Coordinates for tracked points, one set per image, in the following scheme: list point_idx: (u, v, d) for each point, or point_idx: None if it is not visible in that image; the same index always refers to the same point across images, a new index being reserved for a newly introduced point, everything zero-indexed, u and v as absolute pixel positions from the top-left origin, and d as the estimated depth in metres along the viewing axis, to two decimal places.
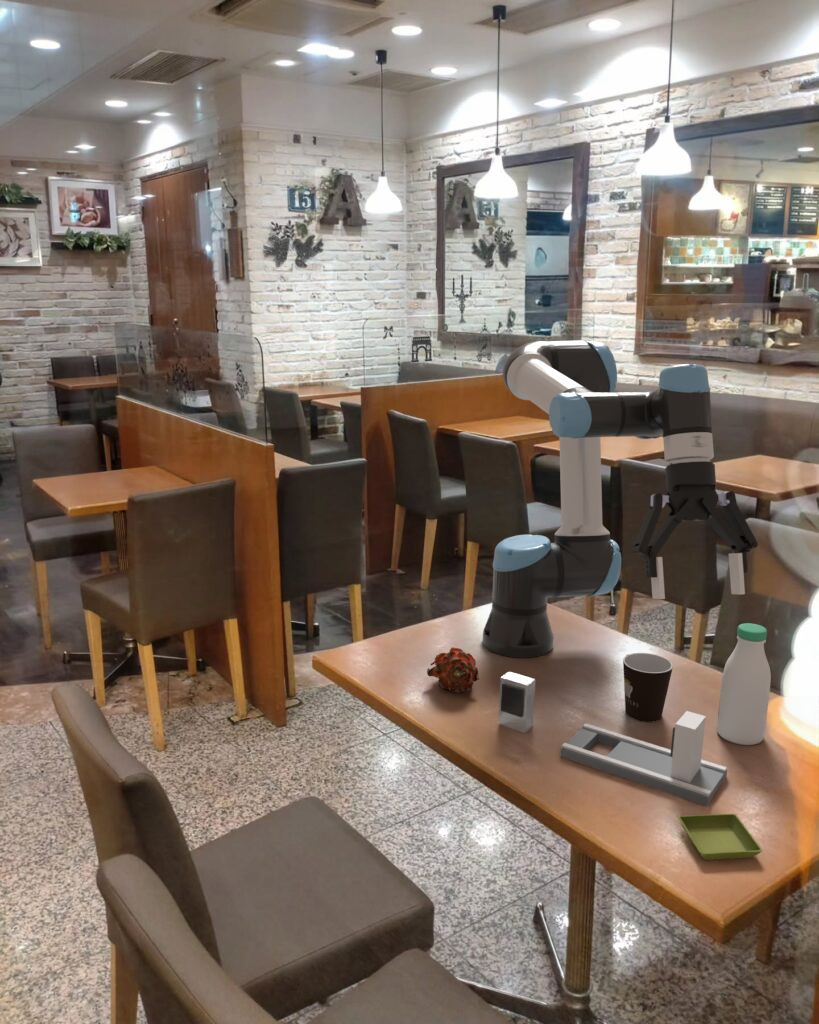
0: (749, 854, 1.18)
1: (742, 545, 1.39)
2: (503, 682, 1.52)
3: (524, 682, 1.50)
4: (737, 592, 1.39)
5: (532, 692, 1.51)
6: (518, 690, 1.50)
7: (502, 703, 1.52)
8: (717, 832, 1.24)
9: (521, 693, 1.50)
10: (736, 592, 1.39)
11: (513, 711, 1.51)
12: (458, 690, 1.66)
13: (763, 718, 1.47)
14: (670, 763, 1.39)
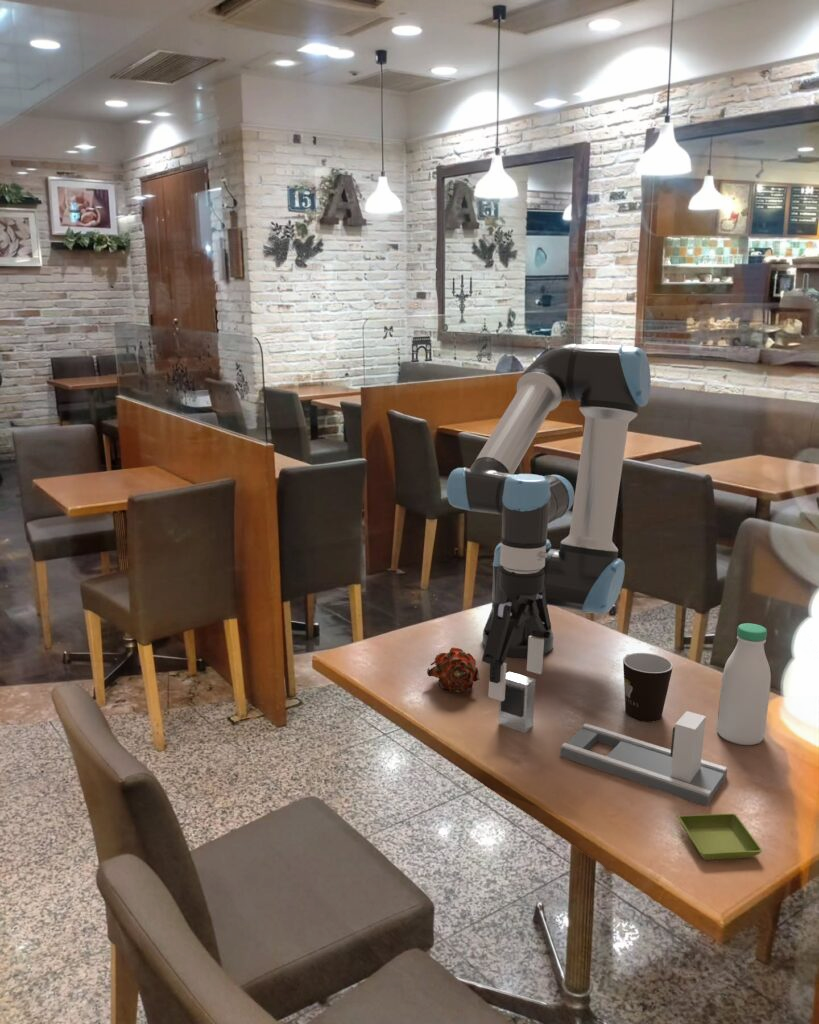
0: (749, 854, 1.18)
1: (544, 631, 1.55)
2: None
3: (524, 682, 1.50)
4: (535, 671, 1.56)
5: (532, 692, 1.51)
6: (518, 690, 1.50)
7: (502, 703, 1.52)
8: (716, 832, 1.24)
9: (521, 693, 1.50)
10: (534, 671, 1.56)
11: (513, 711, 1.51)
12: (458, 690, 1.66)
13: (763, 718, 1.47)
14: (670, 763, 1.39)
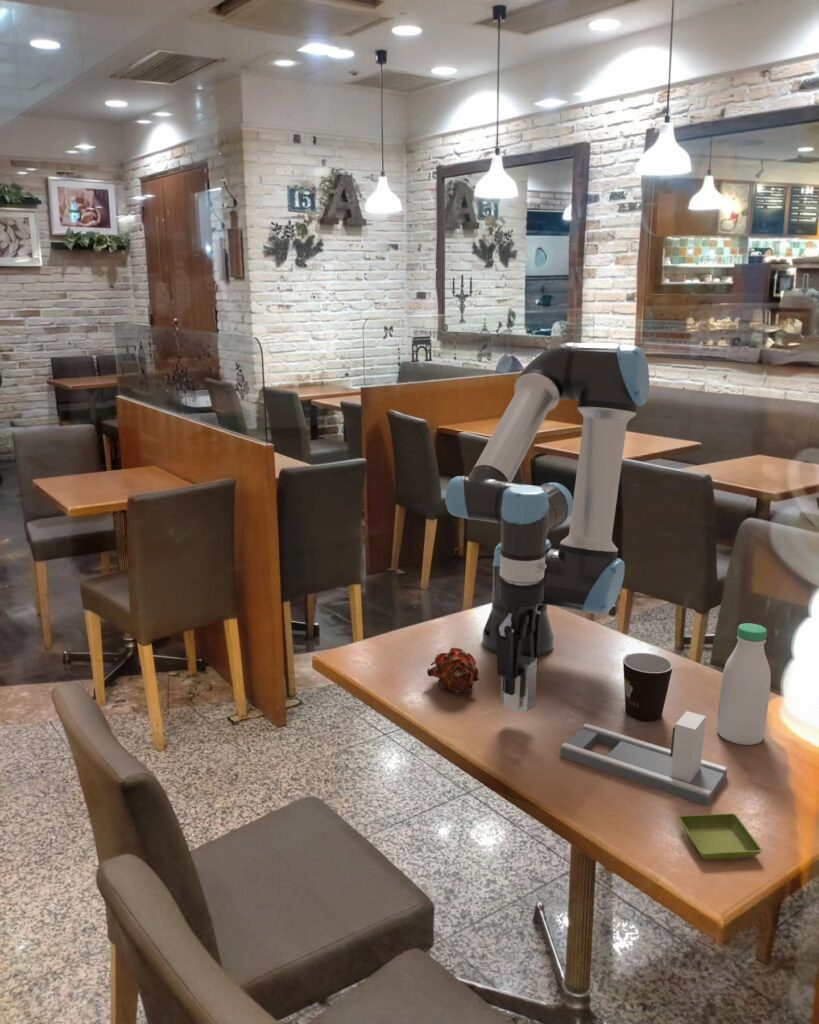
0: (749, 854, 1.18)
1: None
2: None
3: (525, 662, 1.50)
4: None
5: (534, 672, 1.51)
6: (520, 670, 1.49)
7: None
8: (716, 832, 1.24)
9: (523, 673, 1.49)
10: None
11: None
12: (458, 690, 1.66)
13: (763, 718, 1.47)
14: (670, 763, 1.39)
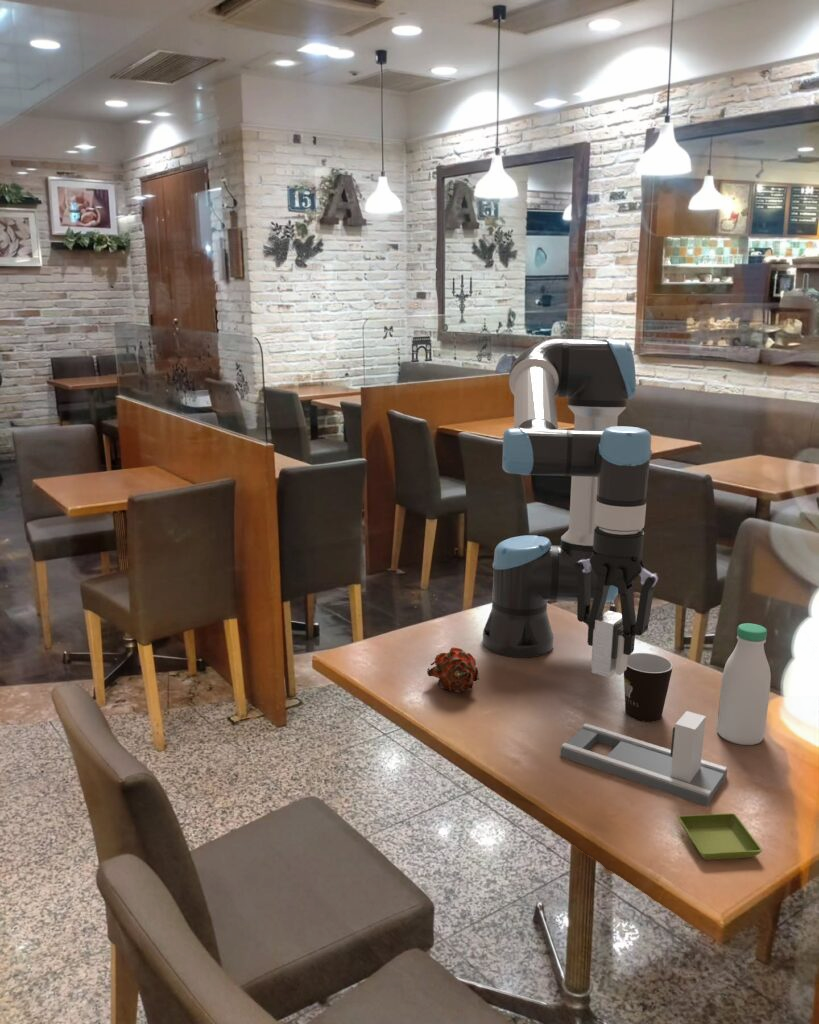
0: (749, 854, 1.18)
1: None
2: (614, 627, 1.37)
3: (619, 615, 1.40)
4: None
5: None
6: None
7: (616, 650, 1.38)
8: (716, 832, 1.24)
9: None
10: None
11: None
12: (458, 690, 1.66)
13: (763, 718, 1.47)
14: (670, 763, 1.39)
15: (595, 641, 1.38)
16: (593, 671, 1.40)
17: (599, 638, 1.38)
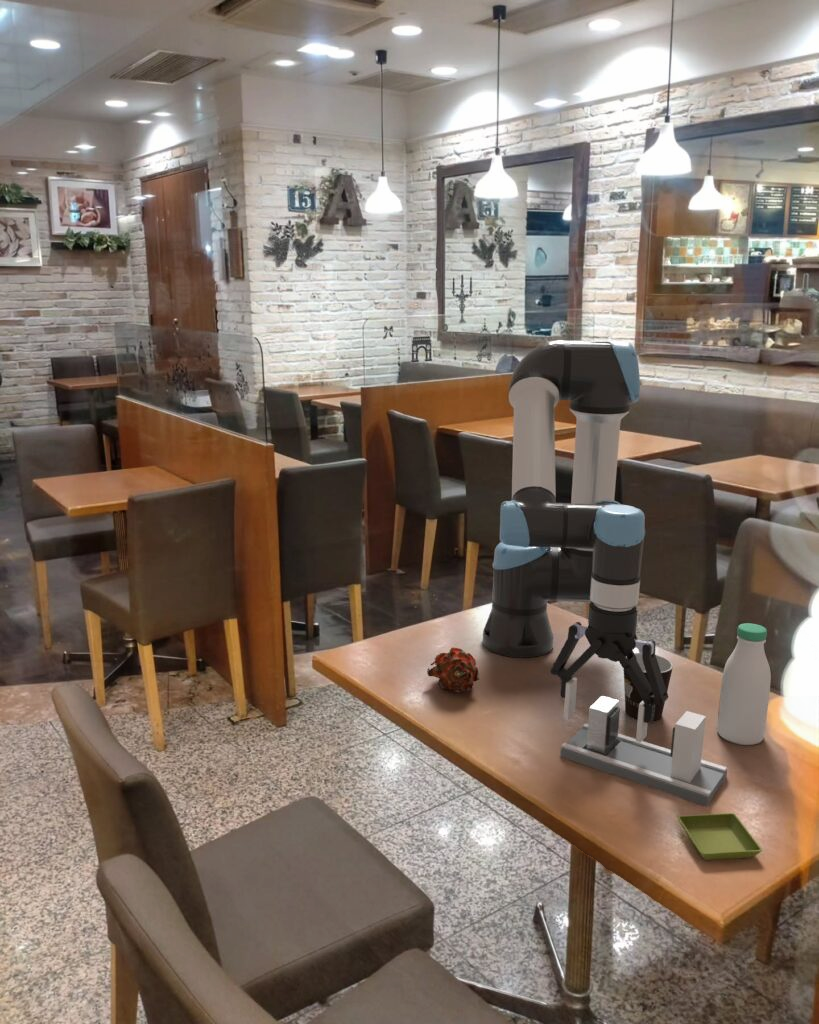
0: (749, 854, 1.18)
1: None
2: (608, 715, 1.41)
3: (612, 701, 1.44)
4: (572, 714, 1.47)
5: None
6: (618, 710, 1.43)
7: (610, 736, 1.42)
8: (716, 832, 1.24)
9: (619, 711, 1.44)
10: (572, 714, 1.47)
11: (614, 736, 1.44)
12: (458, 690, 1.66)
13: (763, 718, 1.47)
14: (670, 763, 1.39)
15: (589, 728, 1.42)
16: None
17: (593, 725, 1.42)
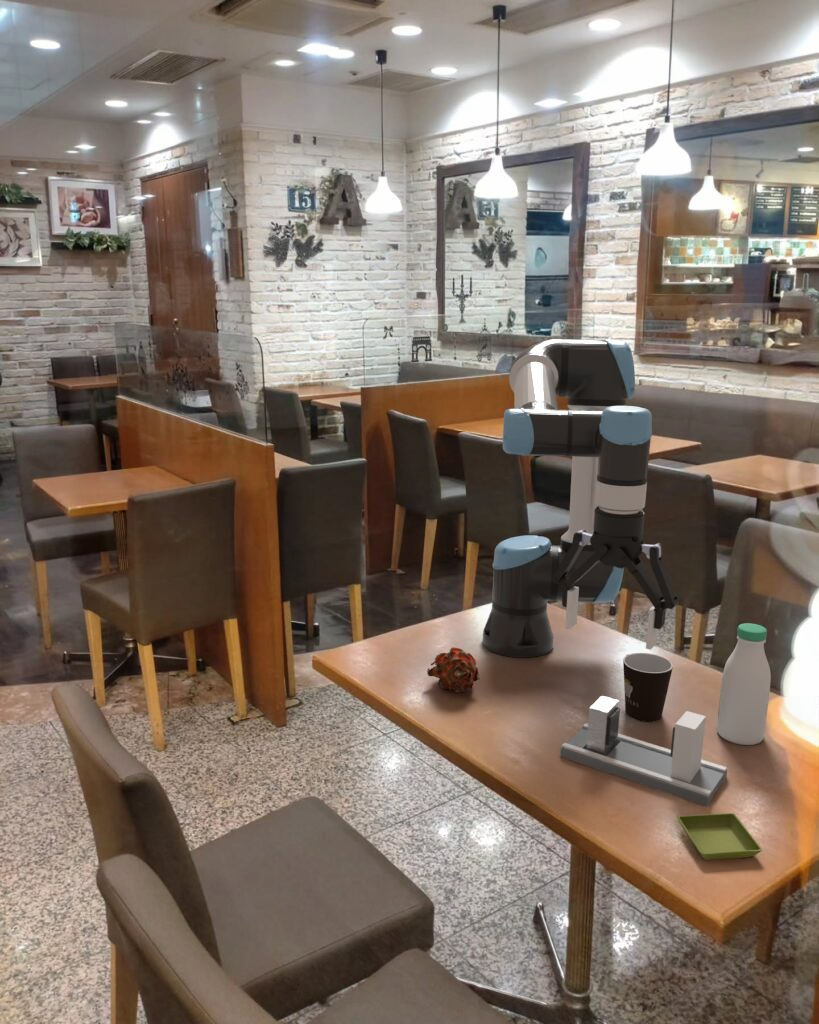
0: (749, 853, 1.18)
1: None
2: (608, 715, 1.41)
3: (612, 701, 1.44)
4: (574, 624, 1.44)
5: None
6: (618, 710, 1.43)
7: (610, 736, 1.42)
8: (716, 832, 1.24)
9: (619, 711, 1.44)
10: (573, 624, 1.44)
11: (614, 736, 1.44)
12: (458, 690, 1.66)
13: (763, 718, 1.47)
14: (670, 763, 1.39)
15: (589, 728, 1.42)
16: None
17: (593, 725, 1.42)
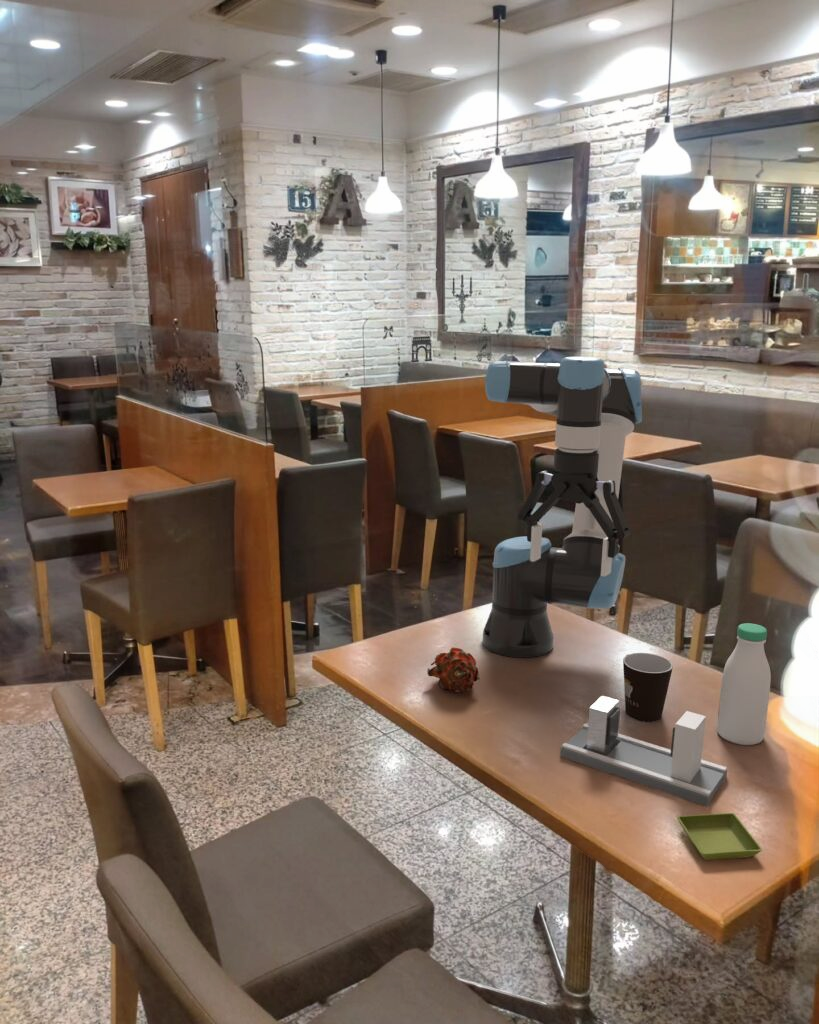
0: (749, 853, 1.18)
1: None
2: (608, 715, 1.41)
3: (612, 701, 1.44)
4: (538, 557, 1.59)
5: None
6: (618, 710, 1.43)
7: (610, 736, 1.42)
8: (716, 832, 1.24)
9: (619, 711, 1.44)
10: (537, 558, 1.59)
11: (614, 736, 1.44)
12: (458, 690, 1.66)
13: (763, 718, 1.47)
14: (670, 763, 1.39)
15: (589, 728, 1.42)
16: None
17: (593, 725, 1.42)
